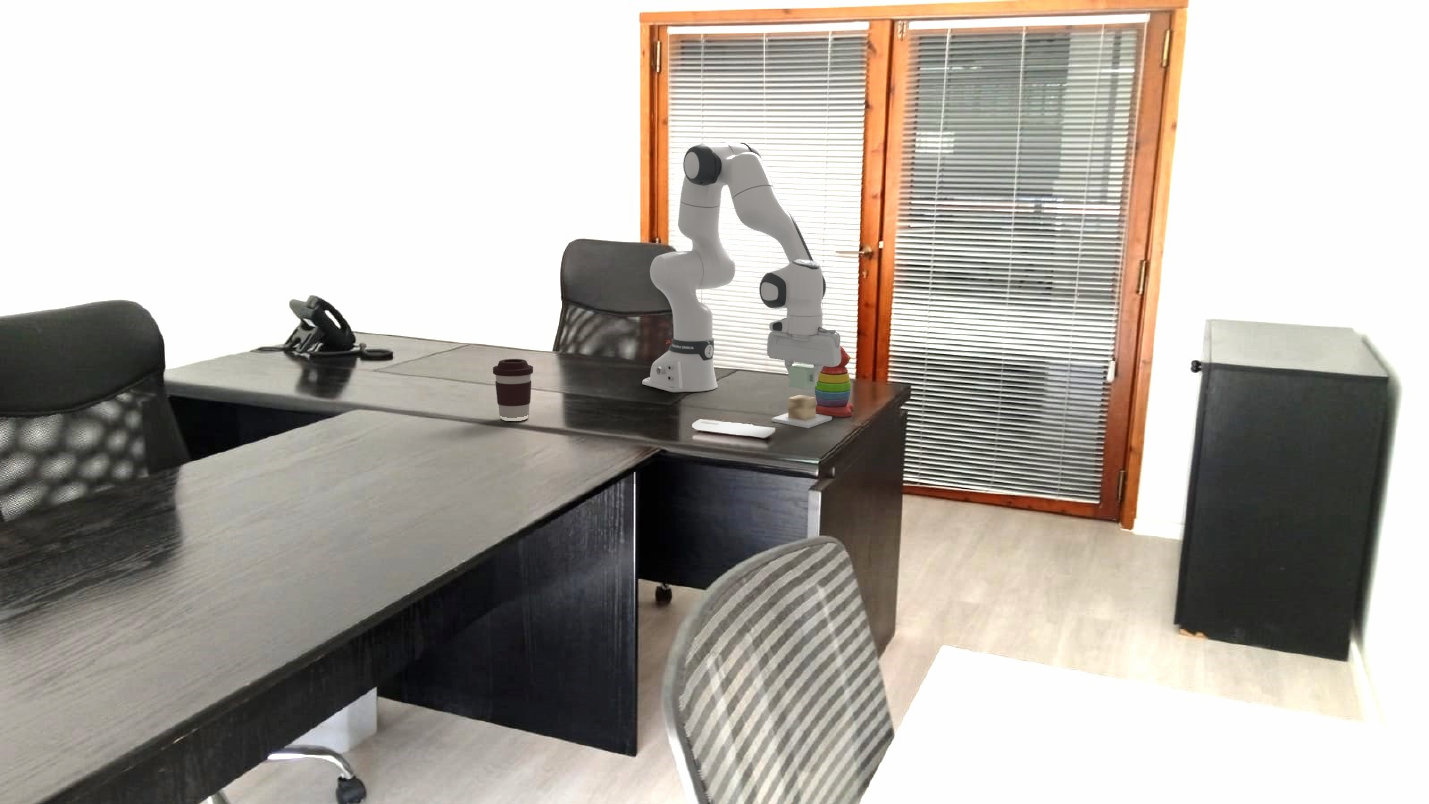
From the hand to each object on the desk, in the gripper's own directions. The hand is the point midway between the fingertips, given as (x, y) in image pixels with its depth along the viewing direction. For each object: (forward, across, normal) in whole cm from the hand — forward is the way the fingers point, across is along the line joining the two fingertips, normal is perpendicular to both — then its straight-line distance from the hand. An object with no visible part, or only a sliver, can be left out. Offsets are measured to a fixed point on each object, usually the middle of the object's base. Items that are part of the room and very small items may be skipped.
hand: (803, 380), depth 277 cm
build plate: (+10, 0, 0) cm, 11 cm away
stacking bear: (+11, -1, -13) cm, 17 cm away
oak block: (+10, 0, 0) cm, 10 cm away
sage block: (+2, 0, 0) cm, 2 cm away
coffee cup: (+10, +57, +45) cm, 74 cm away
